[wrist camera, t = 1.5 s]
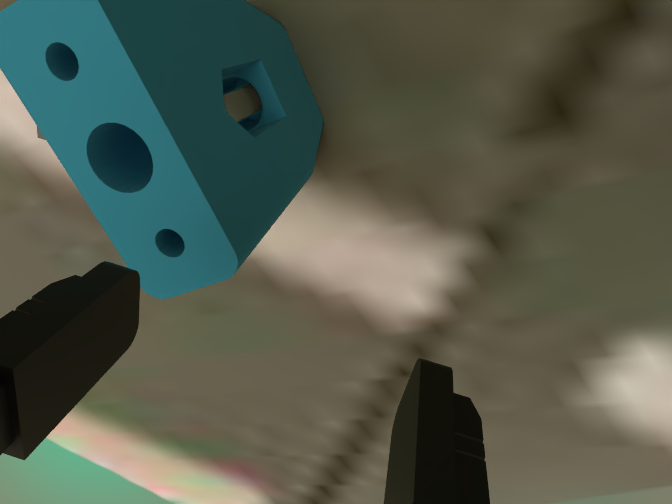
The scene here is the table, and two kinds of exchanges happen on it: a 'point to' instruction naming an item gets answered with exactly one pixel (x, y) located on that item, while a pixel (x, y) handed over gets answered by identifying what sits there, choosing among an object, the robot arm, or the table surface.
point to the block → (167, 124)
